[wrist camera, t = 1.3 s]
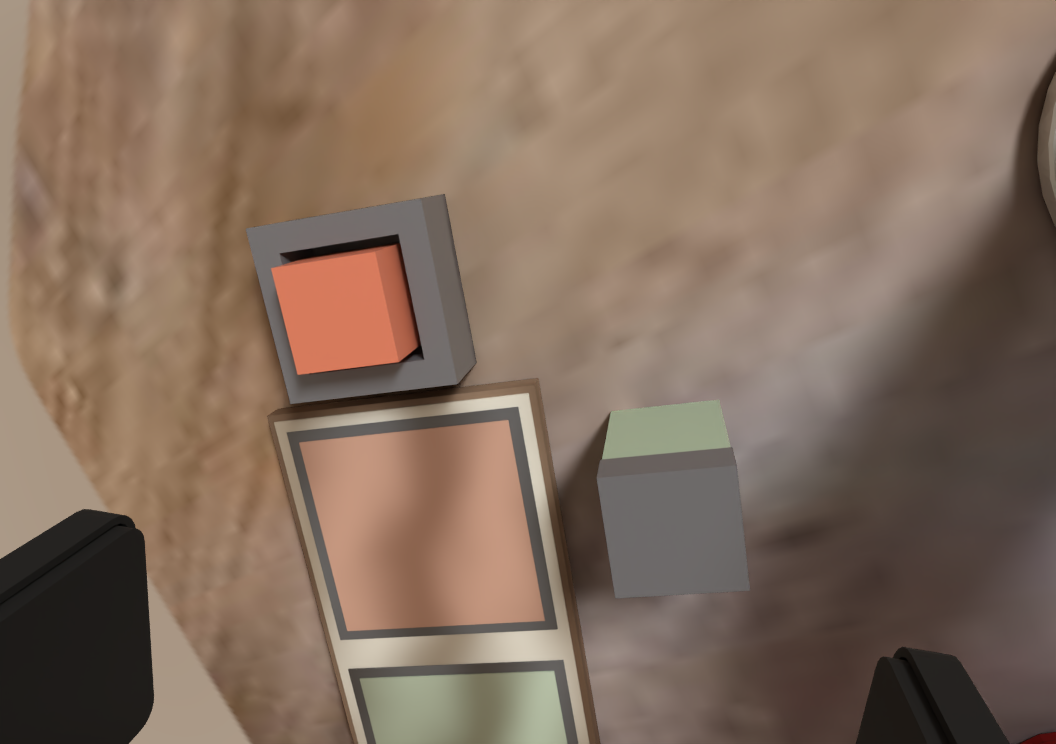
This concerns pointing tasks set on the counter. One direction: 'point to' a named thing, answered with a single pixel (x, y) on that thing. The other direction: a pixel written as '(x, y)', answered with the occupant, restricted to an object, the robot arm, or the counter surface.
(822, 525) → the counter surface
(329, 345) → the button
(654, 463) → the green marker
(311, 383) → the button housing
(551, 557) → the picture board
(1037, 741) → the plastic cup
